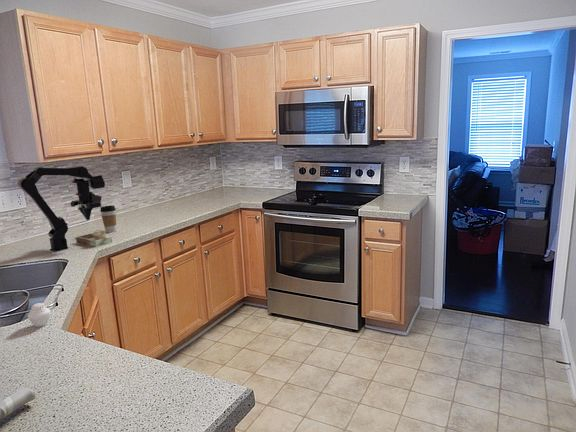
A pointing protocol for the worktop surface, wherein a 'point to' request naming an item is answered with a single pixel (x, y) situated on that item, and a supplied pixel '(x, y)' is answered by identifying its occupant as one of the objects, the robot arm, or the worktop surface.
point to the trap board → (93, 240)
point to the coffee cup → (109, 218)
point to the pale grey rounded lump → (39, 314)
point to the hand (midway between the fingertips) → (88, 220)
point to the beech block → (99, 234)
